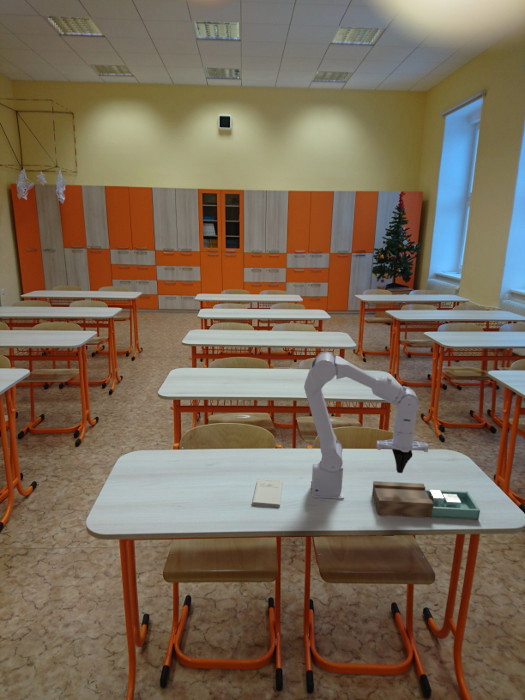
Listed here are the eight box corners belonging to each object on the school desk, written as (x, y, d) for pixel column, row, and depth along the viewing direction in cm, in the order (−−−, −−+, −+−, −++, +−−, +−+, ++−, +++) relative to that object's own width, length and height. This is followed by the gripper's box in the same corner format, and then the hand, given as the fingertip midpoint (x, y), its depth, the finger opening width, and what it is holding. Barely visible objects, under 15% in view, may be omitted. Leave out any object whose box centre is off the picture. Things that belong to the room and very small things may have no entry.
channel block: (378, 514, 126) (379, 500, 125) (372, 494, 136) (373, 481, 135) (431, 517, 125) (433, 503, 124) (421, 497, 135) (423, 483, 134)
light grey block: (461, 502, 127) (459, 511, 128) (456, 494, 131) (455, 503, 131) (446, 501, 127) (445, 510, 128) (442, 493, 131) (441, 502, 132)
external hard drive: (252, 506, 130) (257, 483, 142) (279, 509, 129) (282, 485, 141) (252, 502, 130) (257, 478, 142) (280, 504, 129) (282, 480, 141)
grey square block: (442, 510, 128) (432, 509, 128) (438, 501, 132) (428, 501, 132) (444, 498, 127) (433, 497, 127) (439, 490, 131) (429, 489, 131)
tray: (431, 517, 126) (433, 507, 125) (422, 497, 135) (423, 489, 134) (478, 519, 125) (480, 510, 124) (466, 500, 134) (467, 491, 133)
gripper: (381, 434, 124) (377, 477, 128) (433, 437, 123) (428, 479, 127) (376, 424, 131) (373, 464, 135) (426, 426, 130) (421, 467, 134)
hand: (399, 471), depth 131 cm, fingers closed
